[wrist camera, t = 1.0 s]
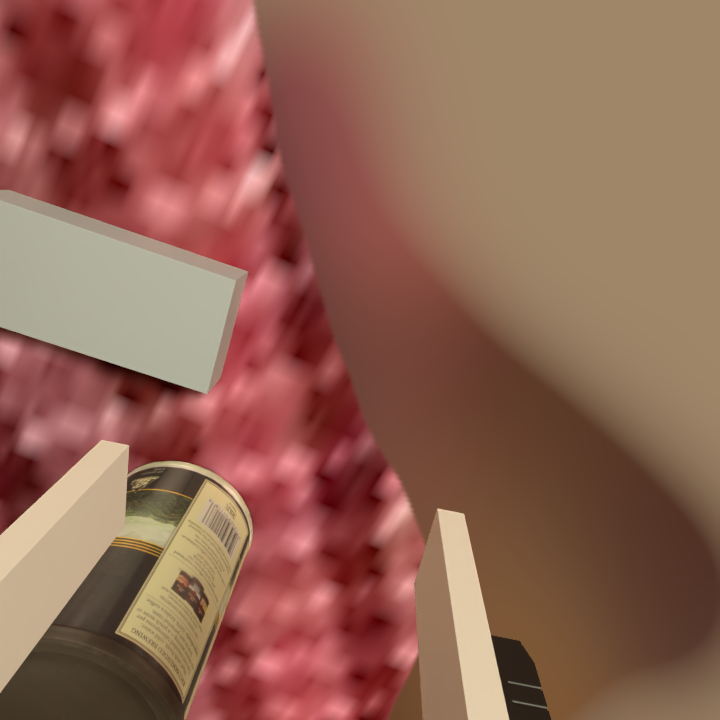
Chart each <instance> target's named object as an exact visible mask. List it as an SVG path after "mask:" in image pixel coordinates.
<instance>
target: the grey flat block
mask: <svg viewBox="0 0 720 720" xmlns="http://www.w3.org/2000/svg"><path fill="white" fill-rule="evenodd" d="M247 275H248V271H245V270H242V269H239V268H236V267H233V266H230V265H227V264H224V263H221V262H218V261H215V260H213V259H210V258H207V257H204V256H201V255H198V254H195V253H192V252H189V251H186V250H183V249H180V248H177V247H174V246H172V245H169V244H166V243H163V242H160V241H157V240H154V239H151V238H148V237H145V236H142V235H139V234H136V233H133V232H131V231H128V230H125V229H122V228H119V227H116V226H113V225H110V224H107V223H104V222H101V221H98V220H95V219H92V218H90V217H87V216H84V215H81V214H78V213H75V212H72V211H69V210H66V209H63V208H60V207H57V206H54V205H51V204H49V203H46V202H43V201H40V200H37V199H34V198H31V197H28V196H25V195H22V194H19V193H16V192H13V191H10V190H0V327H2V328H5V329H8V330H11V331H14V332H17V333H20V334H23V335H26V336H29V337H32V338H36V339H39V340H42V341H45V342H48V343H51V344H54V345H57V346H60V347H63V348H66V349H69V350H73V351H76V352H79V353H82V354H85V355H88V356H91V357H94V358H97V359H100V360H103V361H106V362H109V363H113V364H116V365H119V366H122V367H125V368H128V369H131V370H134V371H137V372H140V373H143V374H146V375H150V376H153V377H156V378H159V379H162V380H165V381H168V382H171V383H174V384H177V385H180V386H183V387H187V388H190V389H193V390H196V391H199V392H202V393H205V394H208V392H209V391H210V390H211V389H212V388H213V386H214V385H215V384H216V383H217V381H218V380H219V379H220V378H221V374H222V371H223V367H224V363H225V359H226V355H227V351H228V348H229V344H230V340H231V336H232V332H233V328H234V325H235V321H236V317H237V313H238V309H239V306H240V302H241V298H242V294H243V290H244V286H245V283H246V279H247Z"/></svg>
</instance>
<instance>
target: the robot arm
mask: <svg viewBox="0 0 720 720" xmlns="http://www.w3.org/2000/svg"><path fill="white" fill-rule="evenodd" d="M128 456H129V445H125V444H120V443H115V442H110V441H105V440H101V441H100V442H99V443H98V444H97V445H96V446H95V447H94V448H93V449H92V450H90V451H89V452H88V453H87V454H86V455H85V456H84V457H83V458H82V459H81V460H80V461H79V462H78V463H77V464H76V465H75V466H73V467H72V468H71V469H70V470H69V471H68V472H67V473H66V474H65V475H64V476H63V477H62V478H61V479H60V480H59V481H57V482H56V483H55V484H54V485H53V486H52V487H51V488H50V489H49V490H48V491H47V492H46V493H45V494H44V495H43V496H42V497H40V498H39V499H38V500H37V501H36V502H35V503H34V504H33V505H32V506H31V507H30V508H29V509H28V510H27V511H26V512H25V513H23V514H22V515H21V516H20V517H19V518H18V519H17V520H16V521H15V522H14V523H13V524H12V525H11V526H10V527H9V528H8V529H6V530H5V531H4V532H3V533H2V534H1V535H0V693H1V691H2V690H3V689H4V687H5V686H6V685H7V683H8V682H9V680H10V679H11V678H12V676H13V675H14V674H15V672H16V671H17V670H18V668H19V667H20V666H21V664H22V663H23V662H24V660H25V659H26V658H27V656H28V655H29V654H30V652H31V651H32V650H33V648H34V647H35V645H36V644H37V643H38V641H39V640H40V639H41V637H42V636H43V635H44V633H45V632H46V631H47V629H48V628H49V627H50V625H51V624H52V623H53V621H54V620H55V619H56V617H57V616H58V615H59V613H60V612H61V610H62V609H63V608H64V606H65V605H66V604H67V602H68V601H69V600H70V598H71V597H72V596H73V594H74V593H75V592H76V590H77V589H78V588H79V586H80V585H81V584H82V582H83V581H84V580H85V578H86V577H87V575H88V574H89V573H90V571H91V570H92V569H93V567H94V566H95V565H96V563H97V562H98V561H99V559H100V558H101V557H102V555H103V554H104V553H105V551H106V550H107V549H108V547H109V546H110V544H111V543H112V542H113V540H114V539H115V538H116V536H117V535H118V534H119V532H120V531H121V530H122V528H123V527H124V526H125V510H126V492H127V474H128ZM414 587H415V603H416V619H417V634H418V650H419V665H420V682H421V697H422V714H423V720H551V717H550V714H549V711H547V704H546V701H545V697H544V694H543V691H541V684H540V680H539V677H538V674H537V670H536V667H535V664H534V662H533V660H532V659H531V657H530V656H529V654H528V653H527V651H526V650H525V648H524V647H523V646H522V645H521V642H520V641H517V640H512V639H507V638H502V637H497V636H492V635H490V630H489V625H488V621H487V617H486V612H485V607H484V603H483V598H482V594H481V589H480V585H479V580H478V576H477V571H476V567H475V562H474V557H473V553H472V548H471V544H470V539H469V535H468V530H467V526H466V521H465V517H464V514H462V513H457V512H452V511H447V510H442V509H437V512H436V515H435V518H434V521H433V524H432V528H431V531H430V534H429V537H428V541H427V544H426V547H425V550H424V554H423V557H422V560H421V563H420V567H419V570H418V573H417V576H416V580H415V583H414Z"/></svg>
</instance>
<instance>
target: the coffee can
mask: <svg viewBox="0 0 720 720" xmlns="http://www.w3.org/2000/svg"><path fill="white" fill-rule="evenodd" d="M252 537H253V526H252V519H251V516H250V512H249V510H248V508H247V506H246V504H245V502H244V501H243V499H242V497H241V496H240V495H239V493H238V492H237V491H236V490H235V489H234V488H233V487H232V486H231V485H230V484H229V483H228V482H227V481H225V480H224V479H223V478H221V477H220V476H218V475H217V474H215V473H214V472H212V471H210V470H207V469H204V468H202V467H200V466H198V465H194V464H191V463H187V462H180V461H159V462H152V463H149V464H146V465H143V466H140V467H138V468H136V469H134V470H133V471H131V472H129V473H128V474H127V492H126V510H125V526H124V527H123V528H122V530H121V531H120V532H119V534H118V535H117V536H116V538H115V539H114V540H113V542H112V543H111V544H110V546H109V547H108V549H107V550H106V551H105V553H104V554H103V555H102V557H101V558H100V559H99V561H98V562H97V563H96V565H95V566H94V567H93V569H92V570H91V571H90V573H89V574H88V575H87V577H86V578H85V580H84V581H83V582H82V584H81V585H80V586H79V588H78V589H77V590H76V592H75V593H74V594H73V596H72V597H71V598H70V600H69V601H68V602H67V604H66V605H65V606H64V608H63V609H62V610H61V612H60V613H59V615H58V616H57V617H56V619H55V620H54V621H53V623H52V624H51V625H50V627H49V628H48V629H47V631H46V632H45V633H44V635H43V636H42V637H41V639H40V640H39V641H38V643H37V644H36V645H35V647H34V648H33V650H32V651H31V652H30V654H29V655H28V656H27V658H26V659H25V660H24V662H23V663H22V664H21V666H20V667H19V668H18V670H17V671H16V672H15V674H14V675H13V676H12V678H11V679H10V680H9V682H8V683H7V685H6V686H5V687H4V689H3V690H2V691H1V693H0V720H186V717H187V714H188V712H189V709H190V706H191V703H192V701H193V698H194V695H195V692H196V690H197V687H198V684H199V682H200V679H201V676H202V673H203V671H204V668H205V665H206V662H207V660H208V657H209V654H210V652H211V649H212V646H213V644H214V641H215V638H216V635H217V632H218V630H219V627H220V624H221V622H222V619H223V616H224V613H225V610H226V608H227V605H228V602H229V599H230V597H231V594H232V591H233V589H234V586H235V583H236V580H237V577H238V575H239V572H240V569H241V567H242V564H243V561H244V559H245V557H246V555H247V553H248V551H249V549H250V546H251V542H252Z"/></svg>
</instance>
